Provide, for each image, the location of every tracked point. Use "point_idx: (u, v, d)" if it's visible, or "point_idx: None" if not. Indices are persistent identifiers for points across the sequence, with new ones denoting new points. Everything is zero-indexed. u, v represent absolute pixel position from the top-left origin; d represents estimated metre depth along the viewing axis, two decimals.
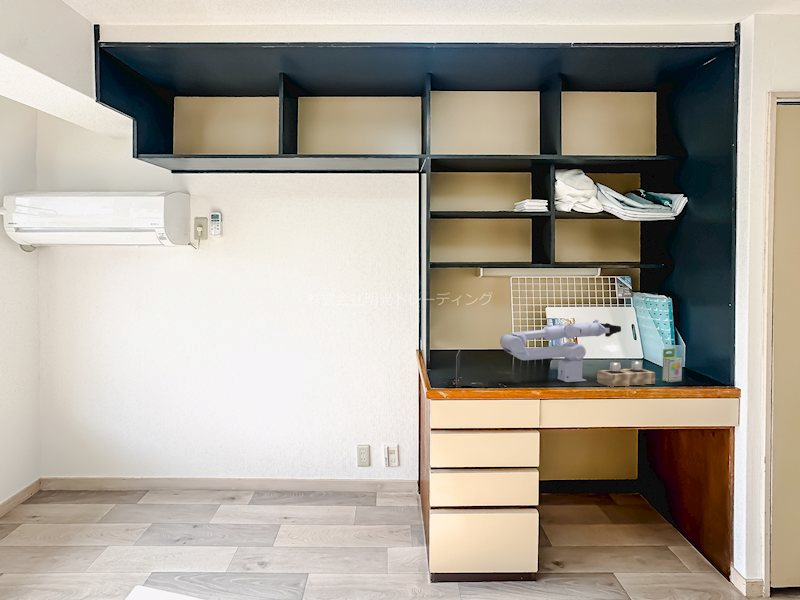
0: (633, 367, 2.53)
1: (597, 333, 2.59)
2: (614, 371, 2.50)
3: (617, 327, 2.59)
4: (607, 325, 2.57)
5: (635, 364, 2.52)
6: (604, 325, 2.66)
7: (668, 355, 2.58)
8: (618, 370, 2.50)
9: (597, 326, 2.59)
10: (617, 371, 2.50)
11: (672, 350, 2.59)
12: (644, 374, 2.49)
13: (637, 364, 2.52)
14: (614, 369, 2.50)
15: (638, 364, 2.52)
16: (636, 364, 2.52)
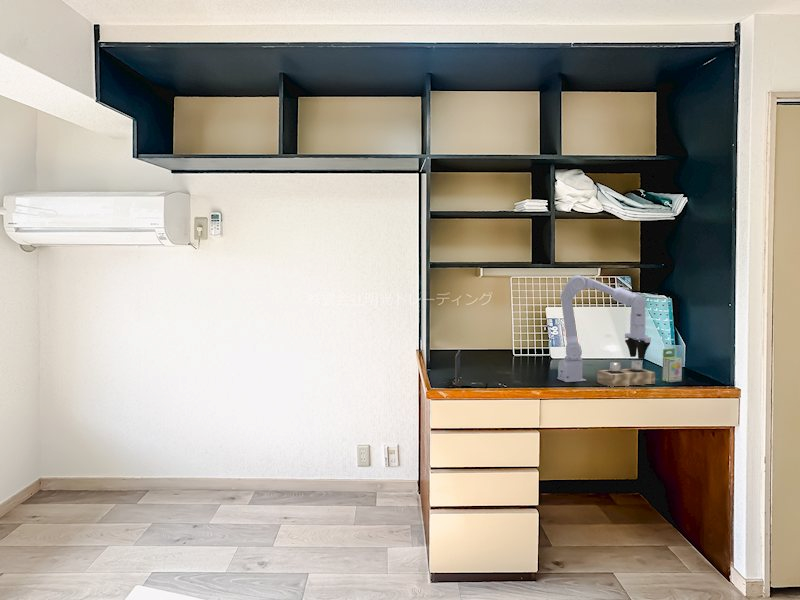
0: (633, 367, 2.53)
1: (637, 334, 2.50)
2: (614, 371, 2.50)
3: (643, 354, 2.50)
4: (647, 342, 2.50)
5: (635, 364, 2.52)
6: (635, 349, 2.56)
7: (668, 355, 2.58)
8: (618, 370, 2.50)
9: (644, 334, 2.51)
10: (617, 371, 2.50)
11: (672, 350, 2.59)
12: (644, 374, 2.49)
13: (637, 364, 2.52)
14: (614, 369, 2.50)
15: (638, 364, 2.52)
16: (636, 364, 2.52)
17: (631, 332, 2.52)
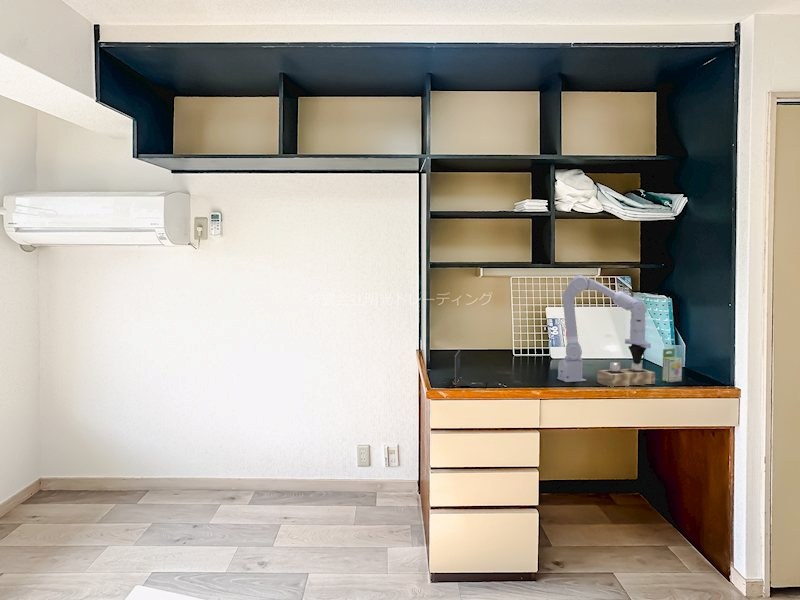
0: (633, 368, 2.53)
1: (637, 340, 2.50)
2: (614, 371, 2.50)
3: (639, 359, 2.53)
4: (643, 347, 2.52)
5: (635, 365, 2.52)
6: None
7: (668, 355, 2.58)
8: (618, 370, 2.50)
9: (644, 340, 2.51)
10: (617, 371, 2.50)
11: (672, 350, 2.59)
12: (644, 374, 2.49)
13: (637, 365, 2.52)
14: (614, 369, 2.50)
15: (638, 365, 2.52)
16: (636, 365, 2.52)
17: (631, 338, 2.52)
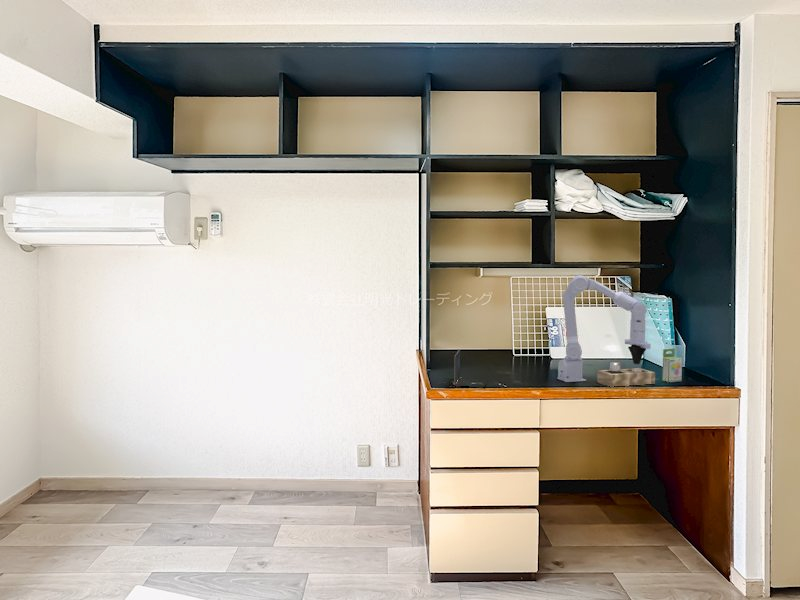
0: None
1: (637, 340, 2.50)
2: (614, 371, 2.50)
3: (639, 359, 2.53)
4: (643, 347, 2.52)
5: None
6: None
7: (668, 355, 2.58)
8: (618, 370, 2.50)
9: (644, 340, 2.51)
10: (617, 371, 2.50)
11: (672, 350, 2.59)
12: (644, 374, 2.49)
13: None
14: (614, 369, 2.50)
15: None
16: None
17: (631, 338, 2.52)
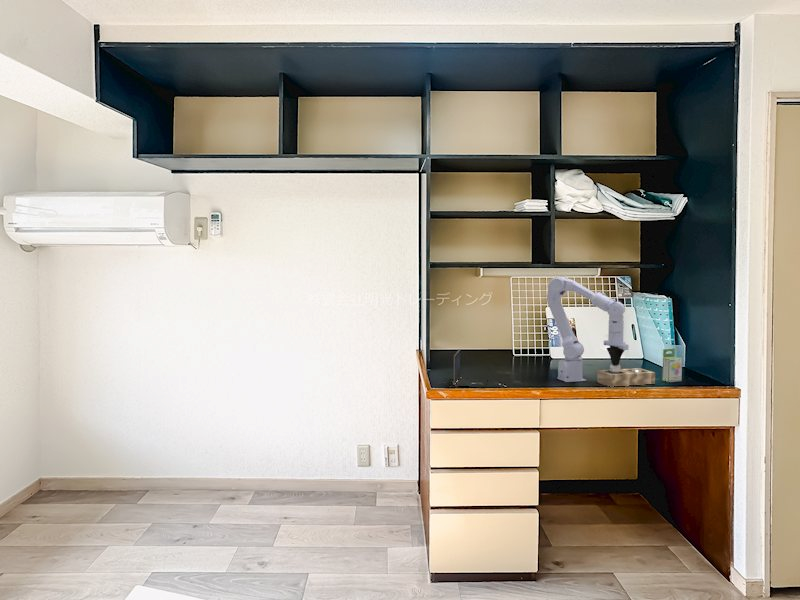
0: None
1: (615, 341, 2.48)
2: None
3: (618, 361, 2.51)
4: (622, 348, 2.50)
5: None
6: None
7: (668, 355, 2.58)
8: (618, 372, 2.50)
9: (622, 341, 2.49)
10: None
11: (672, 350, 2.59)
12: (644, 374, 2.49)
13: None
14: (614, 371, 2.50)
15: None
16: None
17: (609, 339, 2.50)
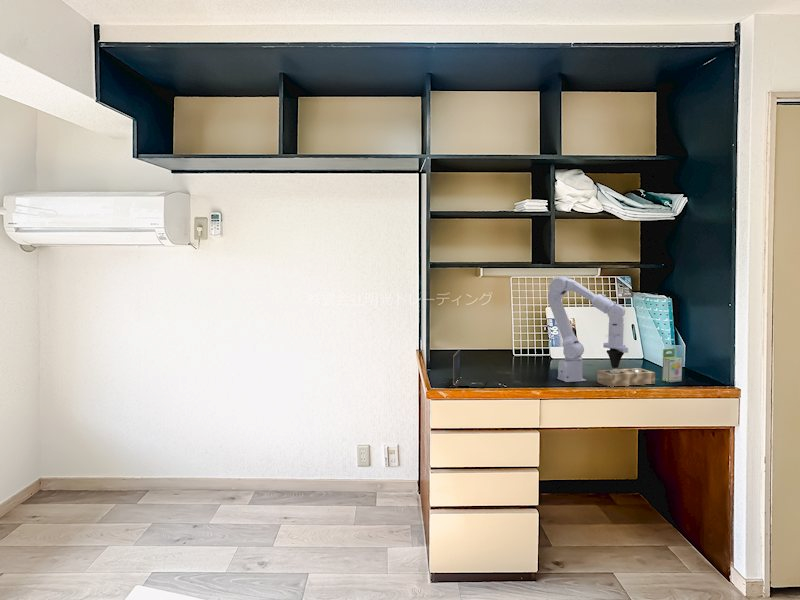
0: None
1: (615, 344, 2.48)
2: None
3: (617, 363, 2.51)
4: None
5: None
6: None
7: (668, 355, 2.58)
8: None
9: (622, 344, 2.49)
10: None
11: (672, 350, 2.59)
12: (644, 374, 2.49)
13: None
14: None
15: None
16: None
17: (609, 342, 2.50)
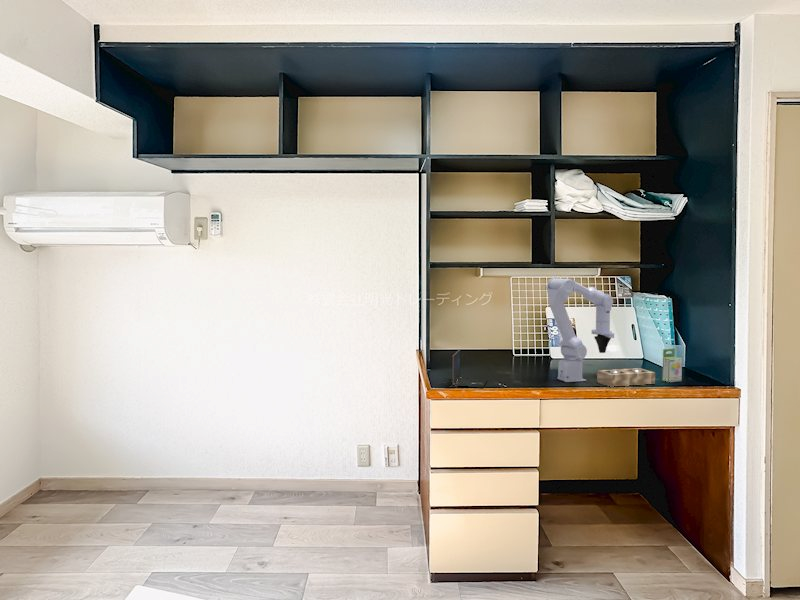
0: None
1: (602, 330, 2.64)
2: None
3: (604, 348, 2.67)
4: (608, 337, 2.66)
5: None
6: None
7: (668, 355, 2.58)
8: None
9: (608, 330, 2.65)
10: None
11: (672, 350, 2.59)
12: (644, 374, 2.49)
13: None
14: None
15: None
16: None
17: (596, 328, 2.66)
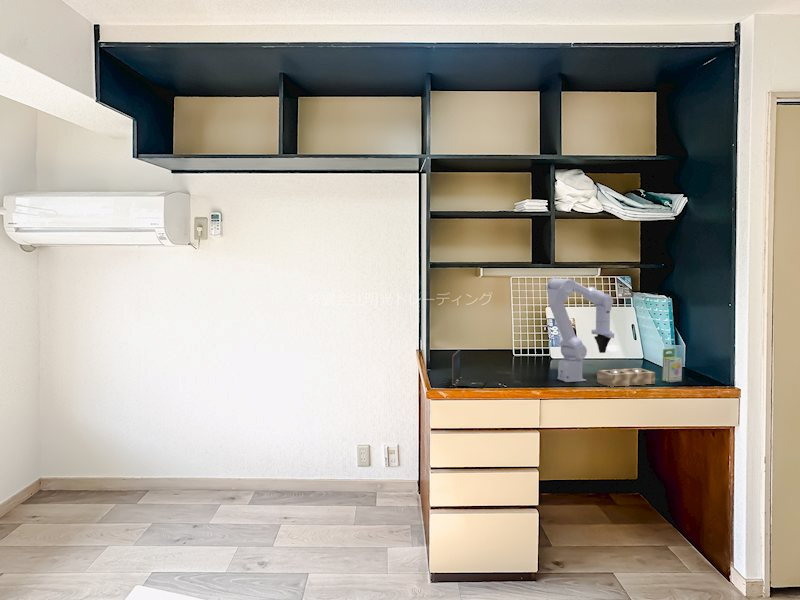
0: None
1: (602, 330, 2.64)
2: None
3: (604, 348, 2.67)
4: (608, 337, 2.66)
5: None
6: None
7: (668, 355, 2.58)
8: None
9: (608, 330, 2.65)
10: None
11: (672, 350, 2.59)
12: (644, 374, 2.49)
13: None
14: None
15: None
16: None
17: (596, 328, 2.66)
